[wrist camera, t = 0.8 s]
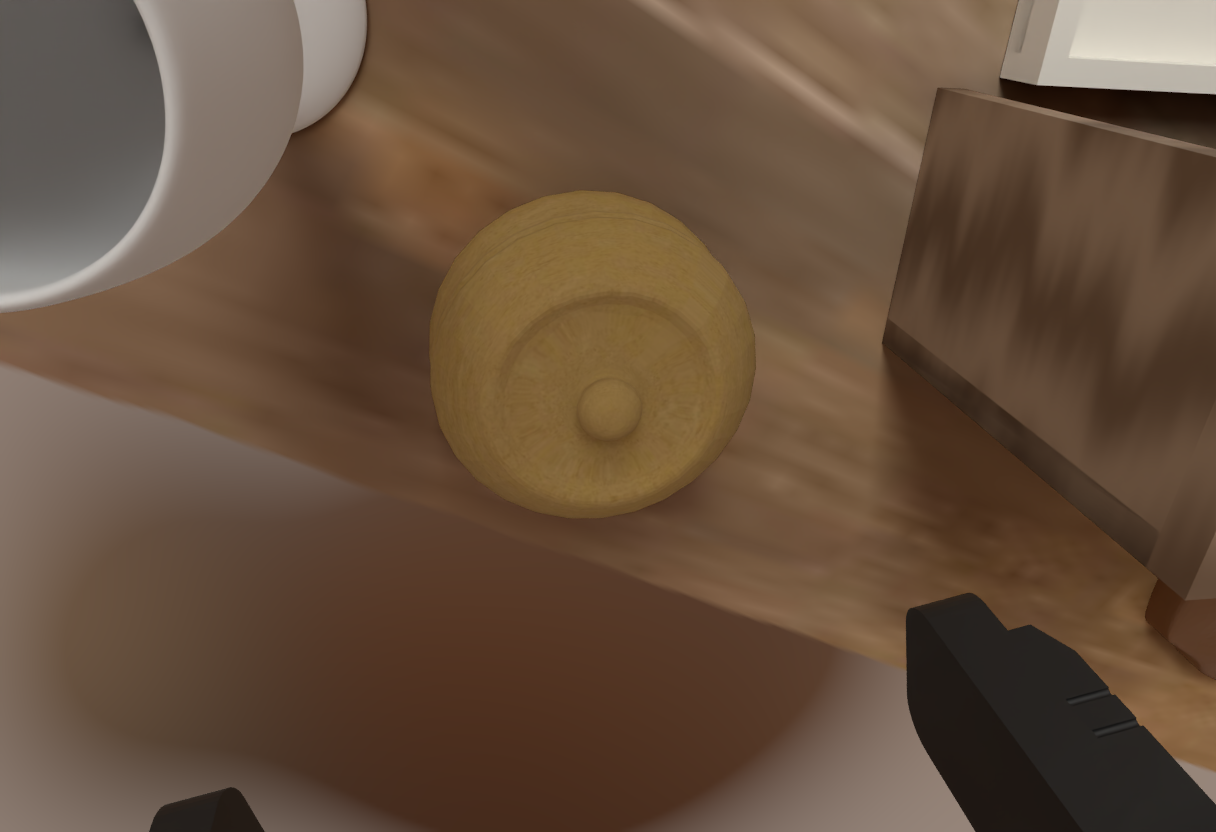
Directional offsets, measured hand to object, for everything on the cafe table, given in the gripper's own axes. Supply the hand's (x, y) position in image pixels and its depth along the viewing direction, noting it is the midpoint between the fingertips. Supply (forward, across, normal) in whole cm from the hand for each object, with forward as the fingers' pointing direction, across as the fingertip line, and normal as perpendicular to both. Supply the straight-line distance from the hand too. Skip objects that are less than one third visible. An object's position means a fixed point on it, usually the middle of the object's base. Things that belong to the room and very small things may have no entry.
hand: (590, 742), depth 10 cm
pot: (+27, -2, +6) cm, 28 cm away
